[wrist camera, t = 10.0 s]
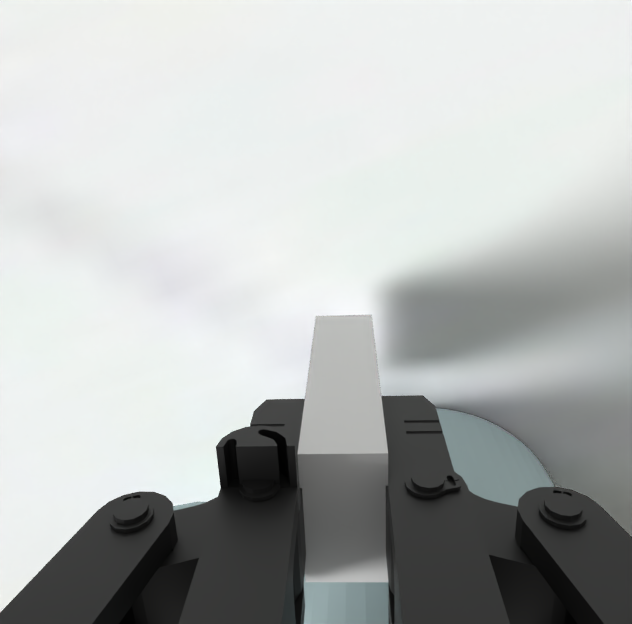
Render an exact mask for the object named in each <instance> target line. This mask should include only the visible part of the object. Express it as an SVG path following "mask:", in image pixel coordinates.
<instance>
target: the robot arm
mask: <svg viewBox="0 0 632 624" xmlns="http://www.w3.org/2000/svg"><path fill="white" fill-rule="evenodd" d="M216 451H217V459H218V468H219V476H220V485H221V489H220V493H219V496H218V497H217V498H215V499H213V500H210V501H208V502H206V503H203V504H200V505H196V506H192V507H188V508H183V509H179V510H175V511H174V510H173V504H172V502H171V501H170V500H169V499H168V498H167V497H166V496H164V495H161V494H158V493H155V492H136V493H131V494H127V495H123V496H121V497H118V498H116V499H114V500H112V501H110V502H108V503H107V504H106V505H104V506H103V507H102V508H101V509H99V510H98V511H97V512H96V513H95V514H94V515H93V516H92V517H91V518H90V519H89V520H88V521H87V522H86V523H85V524H84V526H83V527H82V528H81V529H80V530H79V531H78V532H77V533H76V534H75V535H74V536H73V537H72V538H71V539H70V540H69V541H68V542H67V543H66V544H65V545H64V546H63V548H62V549H61V550H60V551H59V552H58V553H57V554H56V555H55V556H54V557H53V558H52V559H51V560H50V561H49V562H48V563H47V564H46V565H45V566H44V567H43V569H42V570H41V571H40V572H39V573H38V574H37V575H36V576H35V577H34V578H33V579H32V580H31V581H30V582H29V583H28V584H27V585H26V586H25V587H24V588H23V590H22V591H21V592H20V593H19V594H18V595H17V596H16V597H15V598H14V599H13V600H12V601H11V602H10V603H9V604H8V605H7V606H6V607H5V608H4V609H3V610H2V612H1V613H0V624H304V614H305V597H304V574H305V582H388V615H389V624H632V537H631V536H630V535H629V534H628V533H627V532H626V531H625V530H624V529H623V528H622V527H621V526H620V525H619V524H618V523H617V522H616V521H615V520H614V519H613V518H612V517H611V516H610V515H609V514H608V513H607V512H606V511H605V510H604V509H603V508H602V507H601V506H600V505H598V504H597V503H596V502H594V501H593V500H591V499H590V498H589V497H587V496H585V495H582V494H580V493H578V492H575V491H573V490H569V489H564V488H559V487H538V488H535V489H532V490H530V491H527V492H526V493H525V494H524V495H522V496H521V497H520V498H519V502H518V507H517V506H513V505H508V504H503V503H498V502H494V501H491V500H487V499H484V498H482V497H480V496H478V495H475V494H473V493H472V492H470V491H469V489H468V486H467V484H466V483H465V481H464V480H463V478H462V477H461V476H460V475H459V474H457V473H456V472H454V469H453V465H452V462H451V458H450V455H449V451H448V448H447V445H446V441H445V438H444V434H443V431H442V427H441V424H440V422H439V417H438V414H437V410H436V407H435V406H434V405H433V404H432V403H431V402H430V401H428V400H427V399H426V398H425V397H424V396H381V389H380V381H379V373H378V364H377V356H376V348H375V339H374V331H373V323H372V315H345V316H316V319H315V327H314V334H313V342H312V349H311V357H310V364H309V372H308V379H307V386H306V394H305V399H275V400H266V401H265V402H263V403H262V404H261V405H260V406H259V407H258V408H257V409H256V410H255V411H254V414H253V417H252V420H251V424H250V427H245V428H242V429H239V430H236V431H233V432H231V433H230V434H228V435H227V436H225V437H224V438H222V439H221V441H220V442H219V443H218V445H217V446H216Z"/></svg>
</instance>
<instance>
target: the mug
mask: <svg viewBox="0 0 632 624" xmlns="http://www.w3.org/2000/svg"><path fill="white" fill-rule="evenodd" d="M436 410H437V414H438V417H439V422H440V424H441V427H442V431H443V434H444V438H445V441H446V445H447V448H448V451H449V455H450V458H451V462H452V465H453V469H454V472H456V473H457V474H459V475H460V476H461V477H462V478H463V480H464V481H465V483H466V484H467V486H468V489H469V491H470V492H472V493H473V494H475V495H478V496H480V497H482V498H484V499H487V500H491V501H494V502H498V503H503V504H508V505H513V506H517V507H518V502H519V498H520V497H521V496H522V495H524V494H525V493H526V492H527V491H530V490H532V489H535V488H538V487H555V486H554V485H553V483H552V481H551V479H550V477H549V475H548V474H547V472H546V470H545V469H544V467H543V466H542V464H541V463H540V461H539V460H538V459H537V457H536V456H535V455H534V454H533V453H532V452H531V450H530V449H528V448H527V447H526V446H525V445H524V444H523V443H522V442H521V441H520V440H518V439H517V438H516V437H515V436H513V435H512V434H511V433H509V432H507V431H506V430H504V429H503V428H501V427H499V426H497V425H495V424H493V423H491V422H489V421H487V420H485V419H482V418H479V417H477V416H474V415H471V414H467V413H463V412H459V411H454V410H448V409H439V408H436ZM203 503H206V502H194V503H189V504H183V505H178V506H173V510H174V511H175V510H179V509H183V508H188V507H192V506H196V505H200V504H203ZM304 597H305V614H304V624H389V615H388V582H305V574H304Z"/></svg>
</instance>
